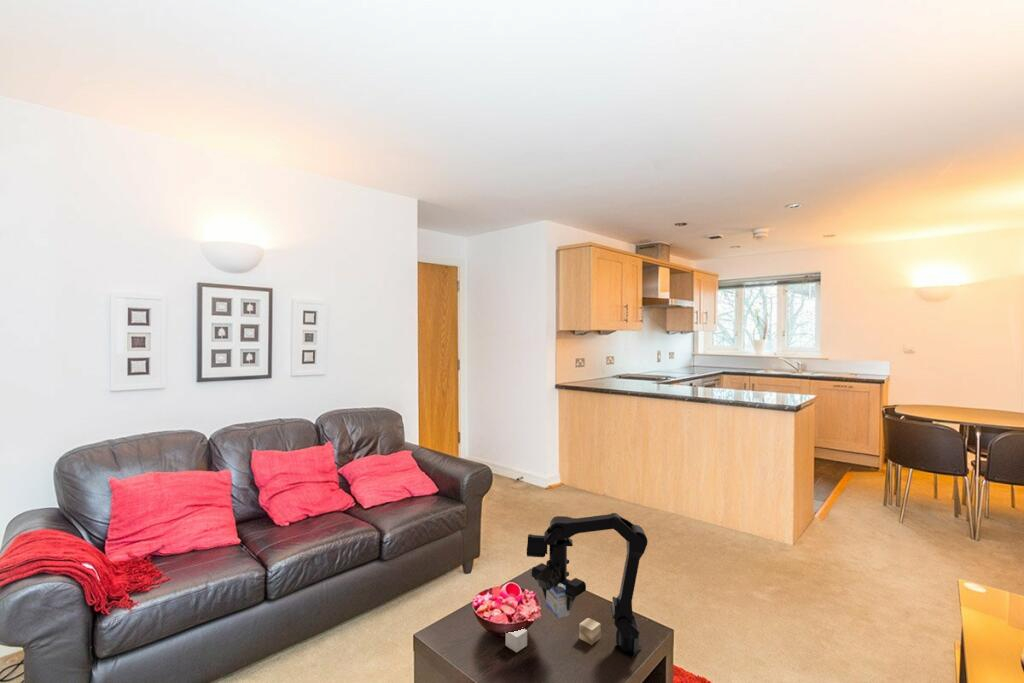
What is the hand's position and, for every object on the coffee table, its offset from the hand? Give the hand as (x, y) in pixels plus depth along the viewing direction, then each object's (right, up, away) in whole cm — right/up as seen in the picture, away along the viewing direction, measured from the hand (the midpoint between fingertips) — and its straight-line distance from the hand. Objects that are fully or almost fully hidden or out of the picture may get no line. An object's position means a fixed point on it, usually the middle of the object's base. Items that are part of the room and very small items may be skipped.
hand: (557, 604), depth 156 cm
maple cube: (+11, -13, +3) cm, 18 cm away
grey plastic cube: (-14, -13, -1) cm, 19 cm away
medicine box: (0, -2, 0) cm, 2 cm away
